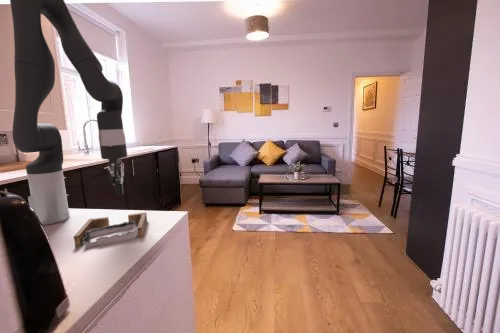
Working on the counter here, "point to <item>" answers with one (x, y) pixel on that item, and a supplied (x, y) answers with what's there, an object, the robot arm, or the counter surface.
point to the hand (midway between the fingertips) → (119, 194)
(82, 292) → the counter surface
